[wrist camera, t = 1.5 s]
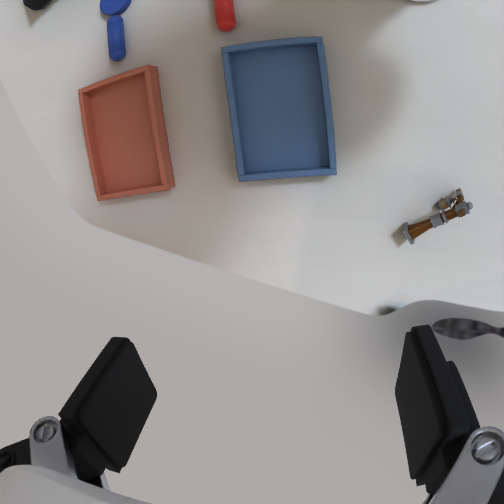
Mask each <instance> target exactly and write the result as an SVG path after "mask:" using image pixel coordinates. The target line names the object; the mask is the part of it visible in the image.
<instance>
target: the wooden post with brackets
mask: <svg viewBox="0 0 504 504" xmlns="http://www.w3.org/2000/svg"><path fill="white" fill-rule="evenodd" d="M455 197H457V201H456V203H455V204H454V206H453V207H452V209H451V203H452V202H453V203H454V201H455V200H456V198H455ZM455 197H454V198H452V197H451V199H449V198H448V197H447V196H446V198H445V199H443V200H441V201H438V203H439V204H437V205H436V209H437V210H440V209H441V210H442V213H440V212H438V213H437V214H435V215H433V216H430V218H429V219H427V220H425V221H422V222H419V223H416V224H412V225H409V224H408V223H404V229H403V233H404V235H405V236H406V238H407V239H408V241H409V242H410V244H411V245H412V244H413V243H414V239H415V238H416V237H418V236H419V235H421V234H422V233H424V232H425V231H427V230H428V229H430V228H432V227H434V228H436V227H437V226H440V225H444V222H446V223H448V220H451V219H453V218H455V217H459V218H460V217H463V216H465V215H466V214H469V213H470V211H469V209H472V208H473V204H472V203H471V202H468V203H466V201H463V200H464V196H463V194H462V191H461V189H460V188H459V189H458V190H456V196H455ZM454 199H455V200H454ZM448 207H450V210H447V211H444V210H445V209H447V208H448Z"/></svg>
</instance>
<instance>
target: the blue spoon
mask: <svg viewBox="0 0 504 504" xmlns="http://www.w3.org/2000/svg"><path fill="white" fill-rule="evenodd" d="M130 3H131V0H101V1H100V9H101V11H102V12H103V13H104V14H107V15H109V16H112V17H110V18H109V19H108V21H107V33H108V47H109V56H110V58H111V59H112V60H113V61H119V60H121V59H123V58H124V56H125V41H124V29H123V19H122V18H121V17H120V16H118V15H119V14H121V13H122V12H124V11H125V10H126V9H127V8H128V6H129V5H130Z"/></svg>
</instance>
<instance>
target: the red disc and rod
mask: <svg viewBox="0 0 504 504" xmlns="http://www.w3.org/2000/svg"><path fill="white" fill-rule="evenodd" d="M214 7H215V15H216V22H217V27H218V28H219V30H221V31H224V32H228V31H231V30H233V29H234V27H235V25H236V21H235V14H234V7H233V0H214Z"/></svg>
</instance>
